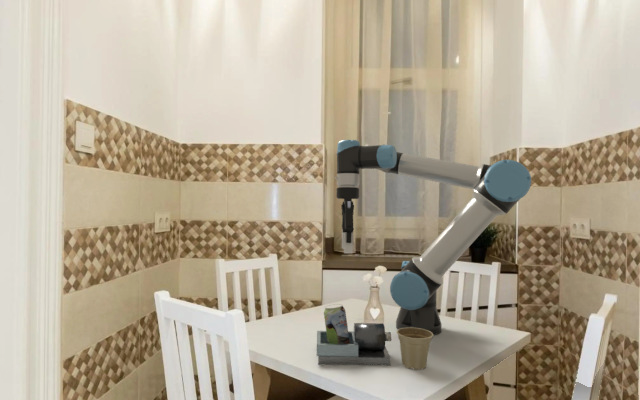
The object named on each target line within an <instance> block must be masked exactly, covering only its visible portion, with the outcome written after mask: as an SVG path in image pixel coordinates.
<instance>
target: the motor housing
mask: <svg viewBox="0 0 640 400" xmlns="http://www.w3.org/2000/svg"><path fill="white" fill-rule="evenodd" d="M385 329H386V328H385V324H384V323H377V322H375V323H373V322H361V323H360V322H354V323H353V330H350V331H349V330H348V334H349V341H350V344H328V340H327V333H326V330H317V331H316V357H318V358H317V359H318V360H317V361H318V364H317V365H321V366H322V365H324V366H325V365H328V366H332V365H333V366H336V365H337V366H340V365H341V366H391V365H392V359H391V355H390V353H389V351H388V349H387V346H386V342H392V333H391V332H390V331H386V330H385Z"/></svg>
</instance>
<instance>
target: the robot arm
mask: <svg viewBox="0 0 640 400" xmlns="http://www.w3.org/2000/svg"><path fill="white" fill-rule="evenodd" d="M336 147H337V148H336V176H335V177H334V180H336V186H337V188H336V195H335V196H336V199H338V200H339V199H340V200H343V201H342V204H341V205H340V206H341V216H342V218H341V220H342V221H341V222H342V223H341V229H342V230H341V249H343V254H353V253H354V252H353V251H354V229H355V228H354V210H355V205H354V201H352V200H358V199H359V198H360V188H359V186H360V170H367V169H368V170H369V169H371V170H372V169H373V170H375V169H376V170H378V171H381V172H383V173H386V174H395V175H400V176H406V177H410V178H416V179H419V180H426V181H430V182H431V181H432V182H435V183H441V184H446V185H451V186H454V187H455V186H456V187H459V188H460V187H461V188H465V189H469V190H470V189H471V191H472V197H471V199H470V200H469V201H468V202H467V203H466V204H465V205H464V206H463V207H462V209H461V210H460V211H459V212H458V213H457V214H456V215H455V217H454V218H453V219H452V220H451V221H450V222H449V223H448V224H447V226H445V228H444V229H443V230H442V231H441V233H440V234H439V235H438V236H437V237H436V238H435V239H434V240H433V242H431V244H430V245H429V246H428V247H427V248H426V250H425V251H424V252H423V253H422V254H421V256H414V257H412V258H411V259H410V260H403V261H402V262H401V268H400V269H401V271H399V272H398V273H397V274H395V275H394V276H393V278H392V279H391V282H390V286H389V292H390V296H391V298H392V300H393V302H394V303H395V305H397V306H398V307H400V309H399V312H398V314H397V318H396V321H395V328H396V329H397V330H398V329H401V328H407V327H408V328H409V327H411V328H412V327H413V328H421V329H425V330H428V331H430V332H432V333H433V336H435V335H438V334H440V333H442V327H443V326H442V322H441V318H440V314H439V312H438V308H437V292H438V291H437V290H438V289H439V288H441V287H442V285H443V284H444V279H443V276H444V275H445V274H446V273H447V272H448V271H449V269H450V268H451V267H452V266H453V265H454V264H455V263H456V262H457V260H458V259H459V258H460V257H461V256H462V255H463V254H464V253H465V252H466V251H467V249H468V248H469V247H471V245H472V244H473V243H474V242H475V241H476V240H477V239H478V237H480V235H481V234H482V233H483V232H484V231H485V230H486V229H487V227H488V226H490V225H491V223H493V221H494V220H495V219H496V218H497V217H498V216H505V215H507V214H508V213H509V212H510V210H512V209H513V208H514V207H515V205H516V204H517V203H518V202H519V201H520V200H521V199H522V198H524V197H526V195H527V194H528V193H529V191H530V189H531V186H532V176H531V173H530V171H529V169H528V168H527V167H526V166H525V165H524V164H523V163H521V162H519V161H517V160H514V159H513V160H512V159H502V160H498V161H496V162H495V163H493V164H491V165H490V164H484V163H482V164H481V165H479V166H476V165H473V164H466V163H460V162H455V161H450V160H444V159H438V158H432V157H425V156H422V155H415V154H411V153H410V154H409V153H404V152H399V151H397V149H396V147H395V146H394V145H393V144H381V145H380V144H378V145H361V142H360V141H359V140H357V139H342V140H339V141H338V142H337V146H336Z"/></svg>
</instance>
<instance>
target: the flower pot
mask: <svg viewBox="0 0 640 400" xmlns="http://www.w3.org/2000/svg"><path fill="white" fill-rule="evenodd" d="M396 334H397V337H398V340H399V347H400V356H401V364H402V365H403V367H405V368H407V369H413V370H417V371H418V370H419V371H420V370H424V369H425V368H426V367H427V365H428V363H427V362H428V357H429V351H430V346H431V344H430V343H431V341H432V338H433V337H434V335H433V333H432V332H430V331H428V330H425V329H421V328H413V327H412V328H411V327H409V328H408V327H407V328H401V329H397V330H396Z"/></svg>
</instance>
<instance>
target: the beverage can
mask: <svg viewBox="0 0 640 400" xmlns="http://www.w3.org/2000/svg"><path fill="white" fill-rule="evenodd" d="M323 316H324V322H325V323H324V324H325V331H326V333H327V340H328V344H350V341H349V334H348V331H349V327H348V322H347V313H346V309H345V308H344V306H343V304H341V303H337V304H336V303H335V304H329V305H327V306H325V307H324V311H323Z"/></svg>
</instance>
